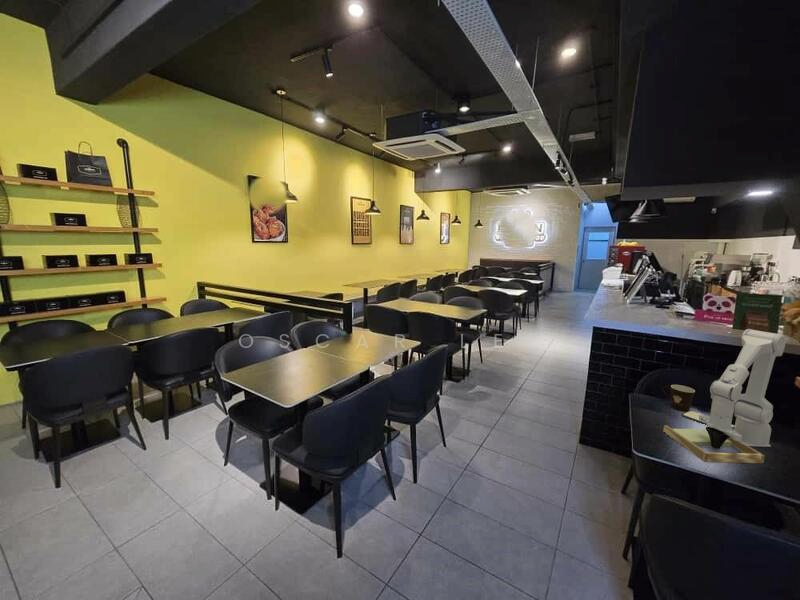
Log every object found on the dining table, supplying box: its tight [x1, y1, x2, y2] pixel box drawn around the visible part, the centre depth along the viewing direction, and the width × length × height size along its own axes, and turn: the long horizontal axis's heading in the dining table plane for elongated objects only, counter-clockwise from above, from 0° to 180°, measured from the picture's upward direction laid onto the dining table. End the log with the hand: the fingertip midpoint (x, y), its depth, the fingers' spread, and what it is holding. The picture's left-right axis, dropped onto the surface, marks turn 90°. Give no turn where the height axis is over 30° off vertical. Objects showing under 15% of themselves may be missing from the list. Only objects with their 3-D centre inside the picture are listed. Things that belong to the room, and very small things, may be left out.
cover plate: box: [672, 428, 732, 448], centre depth 128 cm, size 16×9×2 cm, turn 90°
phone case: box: [681, 410, 735, 429], centre depth 141 cm, size 9×2×16 cm
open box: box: [662, 424, 766, 464], centre depth 123 cm, size 20×19×3 cm
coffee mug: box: [661, 384, 696, 413], centre depth 154 cm, size 12×9×10 cm
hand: (715, 447), depth 121 cm, fingers closed
